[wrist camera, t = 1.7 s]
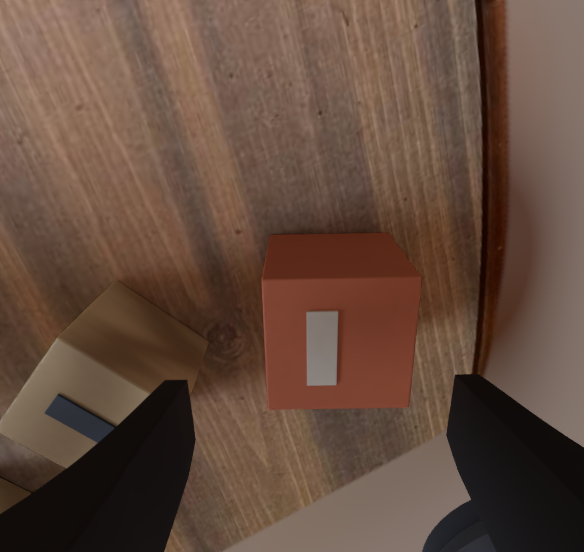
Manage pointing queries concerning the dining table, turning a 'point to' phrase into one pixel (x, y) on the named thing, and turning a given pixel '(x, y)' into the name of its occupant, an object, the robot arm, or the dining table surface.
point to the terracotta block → (339, 321)
